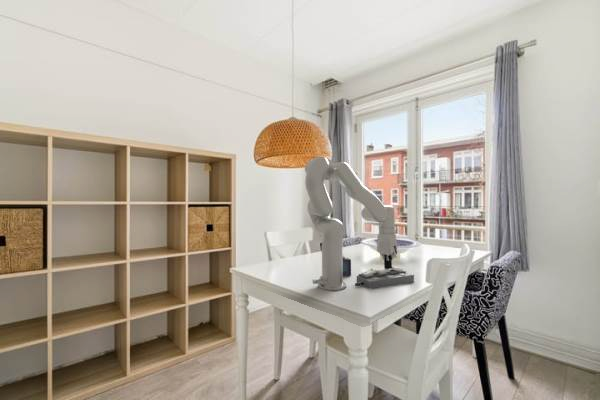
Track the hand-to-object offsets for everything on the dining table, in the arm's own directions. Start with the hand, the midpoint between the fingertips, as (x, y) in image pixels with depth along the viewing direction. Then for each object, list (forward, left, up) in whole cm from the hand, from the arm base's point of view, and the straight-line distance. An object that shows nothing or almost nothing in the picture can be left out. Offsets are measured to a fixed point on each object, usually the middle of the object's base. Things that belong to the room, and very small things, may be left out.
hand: (388, 267), depth 135 cm
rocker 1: (-11, 0, -1) cm, 11 cm away
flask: (-15, +18, -7) cm, 24 cm away
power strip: (-5, -2, -6) cm, 8 cm away
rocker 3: (+5, 0, -1) cm, 5 cm away
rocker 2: (-3, 0, -1) cm, 4 cm away
